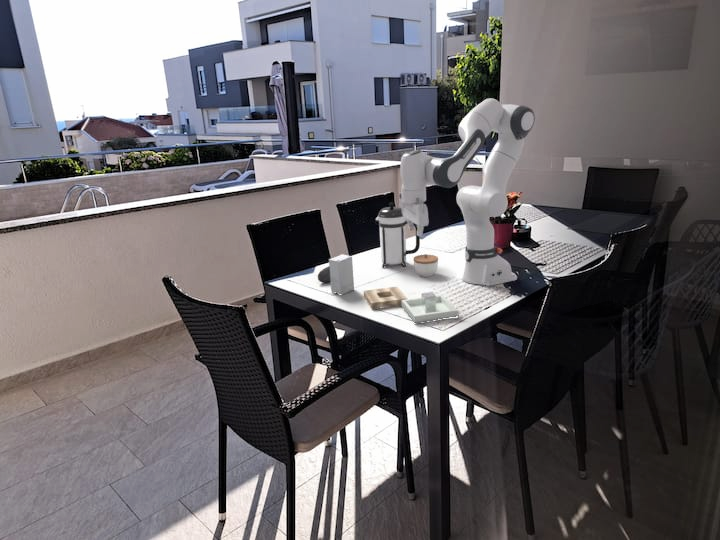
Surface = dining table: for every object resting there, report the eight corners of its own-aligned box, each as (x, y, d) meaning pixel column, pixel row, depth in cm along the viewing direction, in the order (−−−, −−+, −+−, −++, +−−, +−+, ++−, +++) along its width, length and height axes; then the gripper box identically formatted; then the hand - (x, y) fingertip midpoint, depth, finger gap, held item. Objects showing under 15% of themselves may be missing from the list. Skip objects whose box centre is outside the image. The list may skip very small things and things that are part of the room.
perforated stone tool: (321, 285, 212) (320, 270, 210) (315, 282, 216) (313, 267, 214) (349, 277, 220) (348, 262, 218) (342, 274, 225) (341, 260, 222)
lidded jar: (439, 271, 221) (439, 251, 219) (436, 279, 212) (436, 258, 209) (416, 270, 224) (415, 250, 221) (412, 278, 215) (411, 257, 212)
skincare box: (344, 287, 209) (342, 253, 204) (355, 289, 205) (352, 255, 200) (330, 292, 203) (327, 258, 198) (340, 295, 199) (338, 260, 194)
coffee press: (394, 271, 224) (392, 207, 215) (372, 264, 236) (368, 203, 227) (421, 263, 234) (419, 200, 225) (398, 256, 246) (395, 197, 237)
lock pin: (432, 307, 179) (432, 292, 177) (436, 311, 176) (435, 295, 174) (421, 308, 179) (421, 293, 177) (425, 312, 175) (425, 297, 173)
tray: (442, 302, 186) (441, 294, 185) (458, 318, 171) (458, 310, 170) (401, 307, 183) (401, 300, 183) (414, 324, 168) (414, 316, 168)
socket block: (397, 292, 199) (397, 286, 198) (407, 304, 186) (407, 298, 185) (363, 296, 196) (363, 290, 196) (371, 309, 183) (371, 303, 183)
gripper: (432, 199, 170) (433, 238, 174) (413, 191, 189) (414, 226, 193) (415, 202, 169) (416, 240, 173) (397, 193, 188) (399, 228, 192)
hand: (415, 233), depth 183 cm, fingers open, 8 cm apart
